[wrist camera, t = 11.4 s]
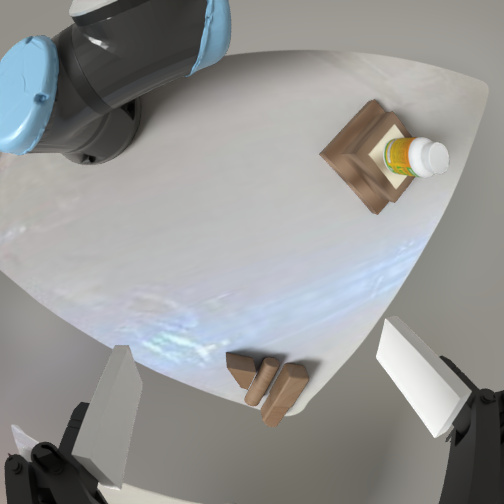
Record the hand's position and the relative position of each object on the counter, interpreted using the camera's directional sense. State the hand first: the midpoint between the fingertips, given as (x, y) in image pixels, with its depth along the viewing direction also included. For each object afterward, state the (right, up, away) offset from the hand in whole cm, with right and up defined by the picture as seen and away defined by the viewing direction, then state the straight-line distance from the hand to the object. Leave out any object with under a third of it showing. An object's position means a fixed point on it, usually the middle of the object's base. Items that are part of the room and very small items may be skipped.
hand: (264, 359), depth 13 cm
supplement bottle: (+20, +19, +22) cm, 36 cm away
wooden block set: (0, -23, +41) cm, 47 cm away
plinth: (+20, +21, +29) cm, 41 cm away
